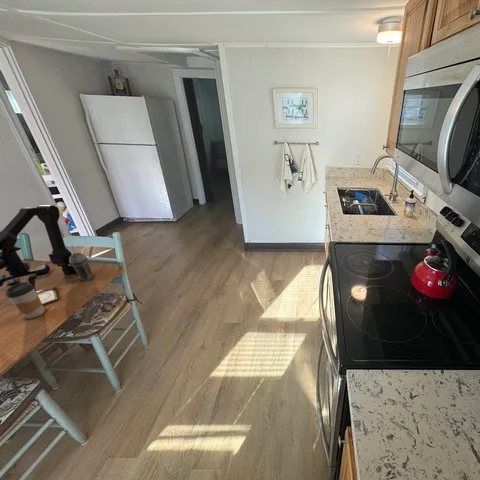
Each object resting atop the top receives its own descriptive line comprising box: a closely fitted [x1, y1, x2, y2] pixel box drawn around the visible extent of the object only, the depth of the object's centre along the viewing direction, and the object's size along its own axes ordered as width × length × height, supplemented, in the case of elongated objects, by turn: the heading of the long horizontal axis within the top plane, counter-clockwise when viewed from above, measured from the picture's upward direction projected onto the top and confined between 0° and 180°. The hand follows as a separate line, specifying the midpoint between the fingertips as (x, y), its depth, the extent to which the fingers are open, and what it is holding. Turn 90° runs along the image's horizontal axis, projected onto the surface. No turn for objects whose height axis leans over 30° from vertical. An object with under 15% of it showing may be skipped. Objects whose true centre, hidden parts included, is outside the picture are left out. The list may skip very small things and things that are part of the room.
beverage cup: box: [69, 244, 94, 282], centre depth 140 cm, size 7×7×20 cm
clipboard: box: [36, 288, 59, 306], centre depth 129 cm, size 12×14×1 cm
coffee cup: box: [5, 281, 45, 320], centre depth 117 cm, size 8×8×15 cm
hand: (30, 290), depth 127 cm, fingers closed on stamp, 2 cm apart
